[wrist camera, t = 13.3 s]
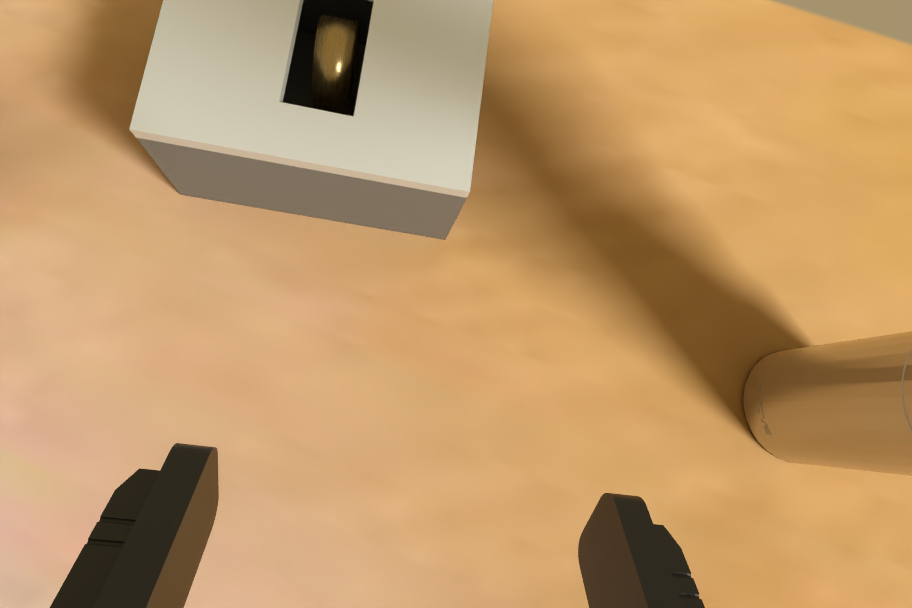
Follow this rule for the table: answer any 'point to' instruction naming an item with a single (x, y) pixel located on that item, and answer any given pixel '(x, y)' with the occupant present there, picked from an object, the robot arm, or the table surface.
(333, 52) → the token
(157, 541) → the robot arm
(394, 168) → the coin box
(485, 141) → the table surface
